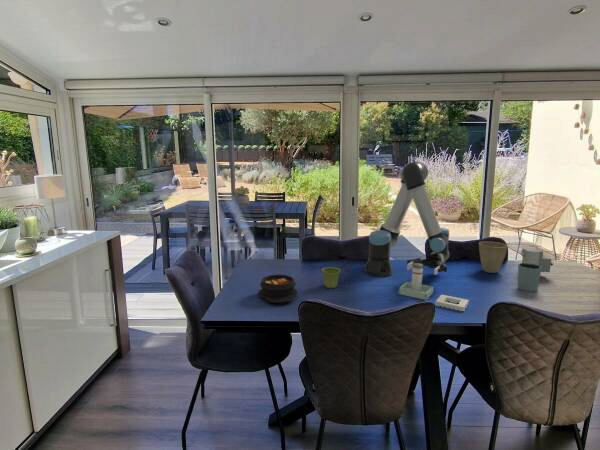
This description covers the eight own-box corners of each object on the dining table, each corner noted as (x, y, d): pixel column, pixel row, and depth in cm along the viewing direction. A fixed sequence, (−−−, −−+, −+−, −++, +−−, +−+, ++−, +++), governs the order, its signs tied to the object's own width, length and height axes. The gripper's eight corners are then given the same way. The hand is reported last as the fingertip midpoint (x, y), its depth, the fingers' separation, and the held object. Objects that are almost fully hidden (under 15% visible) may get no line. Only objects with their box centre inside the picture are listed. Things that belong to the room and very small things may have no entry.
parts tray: (398, 293, 189) (399, 287, 188) (406, 287, 198) (406, 281, 197) (426, 299, 182) (426, 293, 181) (433, 292, 191) (433, 286, 190)
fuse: (409, 292, 189) (410, 264, 186) (412, 289, 193) (414, 262, 190) (419, 294, 186) (421, 266, 184) (422, 291, 190) (424, 264, 188)
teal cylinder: (530, 293, 190) (533, 269, 188) (511, 286, 199) (513, 264, 197) (543, 289, 195) (546, 266, 193) (523, 283, 204) (526, 261, 201)
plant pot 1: (341, 284, 202) (342, 268, 200) (337, 290, 193) (338, 273, 192) (324, 282, 205) (324, 266, 203) (319, 288, 196) (319, 271, 195)
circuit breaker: (552, 279, 211) (555, 252, 208) (523, 277, 214) (526, 251, 211) (546, 274, 218) (550, 249, 216) (518, 273, 221) (521, 247, 218)
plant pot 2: (506, 276, 216) (509, 248, 213) (477, 273, 221) (480, 246, 218) (503, 268, 229) (505, 242, 226) (475, 266, 234) (478, 240, 231)
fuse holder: (435, 305, 175) (435, 301, 175) (441, 298, 183) (441, 294, 183) (463, 311, 168) (463, 307, 168) (468, 304, 176) (468, 300, 176)
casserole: (301, 305, 175) (301, 287, 174) (260, 307, 172) (259, 289, 171) (293, 286, 199) (293, 270, 198) (257, 288, 196) (256, 272, 195)
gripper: (458, 270, 203) (446, 281, 187) (411, 262, 218) (396, 272, 201) (459, 256, 202) (447, 266, 185) (412, 249, 216) (397, 258, 200)
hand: (421, 269), depth 193 cm, fingers open, 13 cm apart
